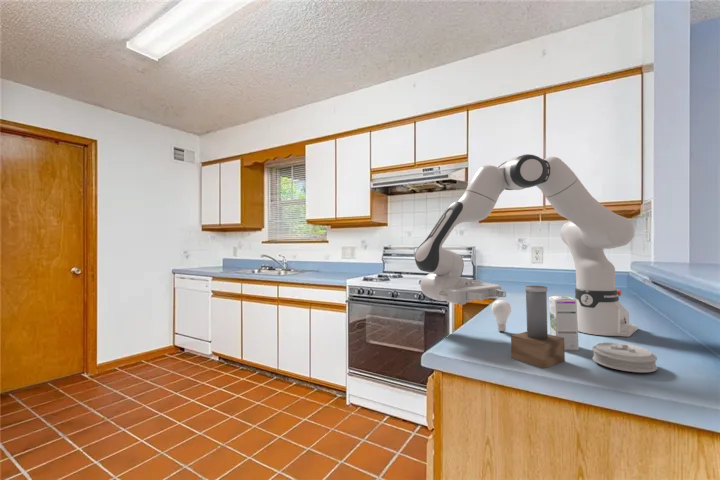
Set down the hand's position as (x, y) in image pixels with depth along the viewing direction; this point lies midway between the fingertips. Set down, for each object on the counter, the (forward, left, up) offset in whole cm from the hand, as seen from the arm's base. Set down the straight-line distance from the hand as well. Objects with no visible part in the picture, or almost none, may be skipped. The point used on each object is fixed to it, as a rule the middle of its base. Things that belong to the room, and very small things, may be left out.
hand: (494, 295), depth 101 cm
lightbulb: (-16, -10, -15) cm, 24 cm away
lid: (-13, +27, -15) cm, 34 cm away
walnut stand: (0, +13, -15) cm, 20 cm away
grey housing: (0, +13, -9) cm, 16 cm away
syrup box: (-16, +11, -15) cm, 25 cm away
